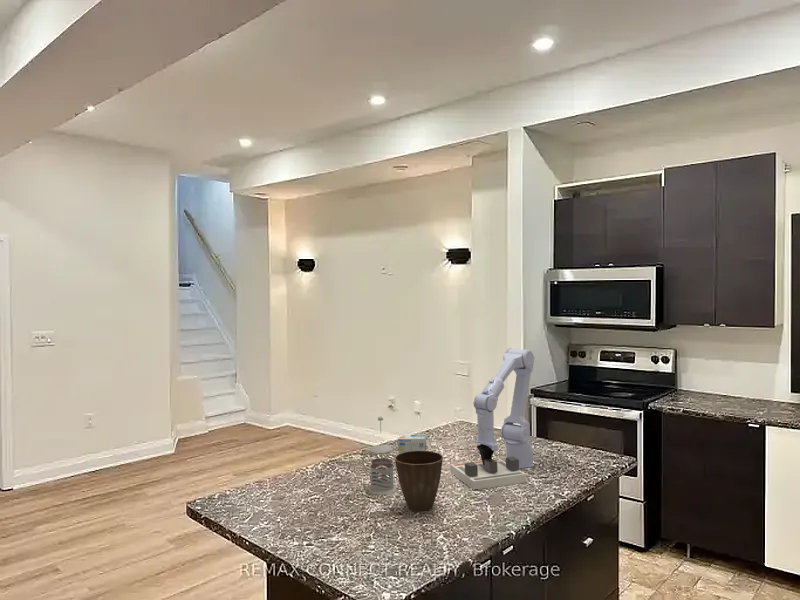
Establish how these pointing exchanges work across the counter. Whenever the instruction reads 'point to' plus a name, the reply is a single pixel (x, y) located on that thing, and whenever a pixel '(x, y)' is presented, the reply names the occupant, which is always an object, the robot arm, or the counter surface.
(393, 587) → the counter surface
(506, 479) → the breaker panel
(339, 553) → the counter surface
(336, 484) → the counter surface
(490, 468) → the block
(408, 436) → the light bulb box
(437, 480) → the plant pot
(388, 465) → the french press
